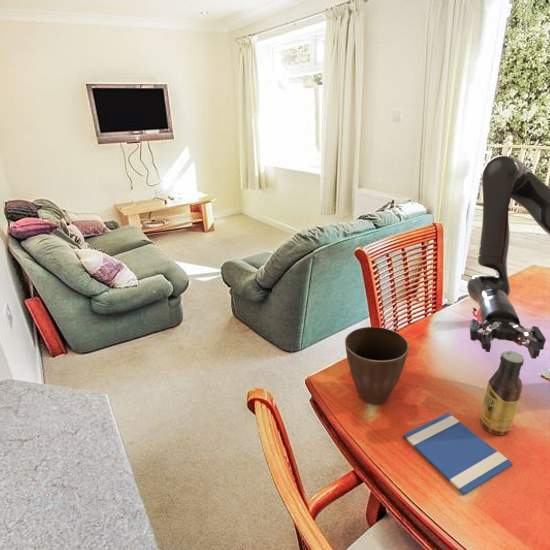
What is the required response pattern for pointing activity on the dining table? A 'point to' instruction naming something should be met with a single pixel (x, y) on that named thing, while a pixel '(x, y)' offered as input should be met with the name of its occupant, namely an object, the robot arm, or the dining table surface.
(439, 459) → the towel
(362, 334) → the flower pot
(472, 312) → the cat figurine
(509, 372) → the sauce bottle
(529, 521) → the dining table surface
